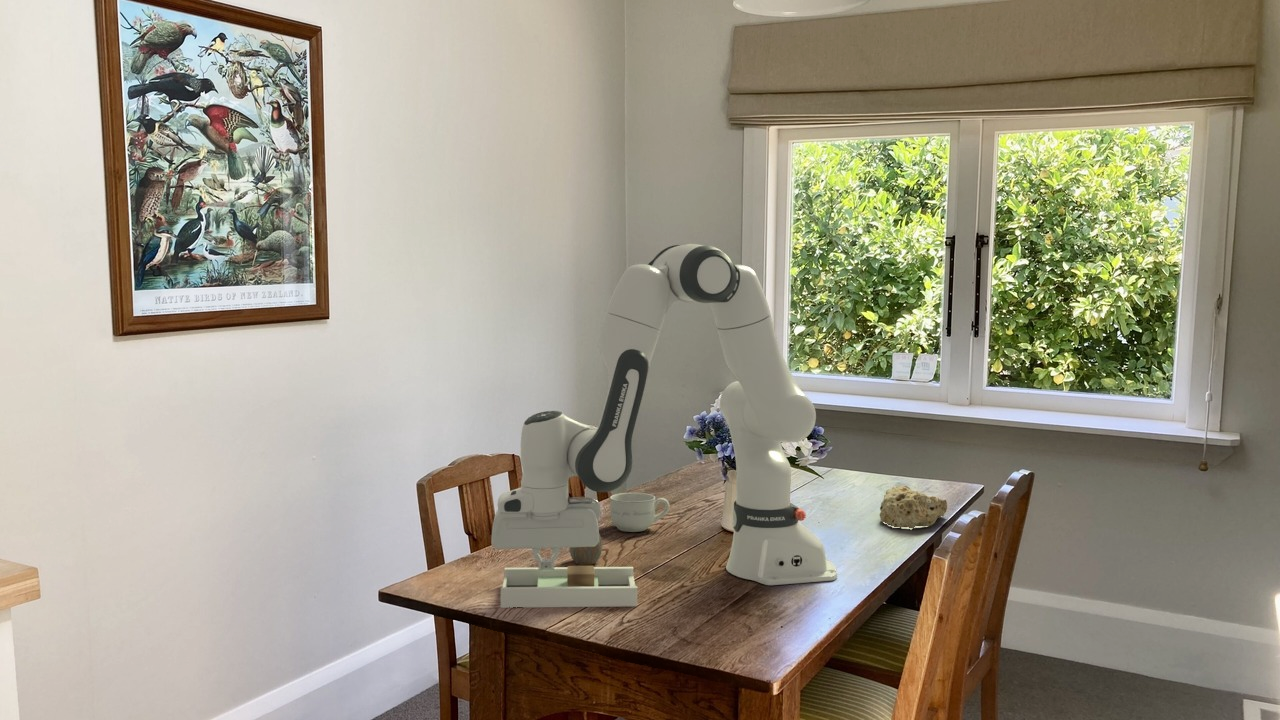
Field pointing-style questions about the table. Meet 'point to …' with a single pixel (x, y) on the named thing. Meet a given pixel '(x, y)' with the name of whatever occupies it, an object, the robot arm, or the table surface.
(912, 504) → the rock
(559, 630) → the table surface
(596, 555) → the vase
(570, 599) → the box
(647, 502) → the teacup
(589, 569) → the walnut block
